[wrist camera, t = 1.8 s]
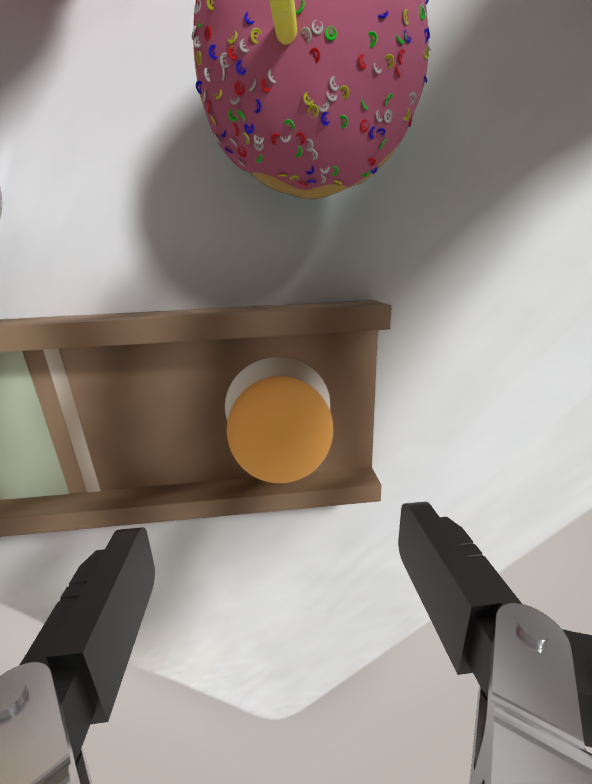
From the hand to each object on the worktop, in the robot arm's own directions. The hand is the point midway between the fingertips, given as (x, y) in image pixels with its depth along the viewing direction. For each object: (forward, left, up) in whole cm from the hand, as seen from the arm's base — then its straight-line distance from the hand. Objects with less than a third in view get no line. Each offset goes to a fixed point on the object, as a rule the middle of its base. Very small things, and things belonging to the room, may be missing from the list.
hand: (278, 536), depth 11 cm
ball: (0, 0, -8) cm, 8 cm away
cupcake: (-2, -15, -12) cm, 19 cm away
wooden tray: (+9, 0, -12) cm, 14 cm away
